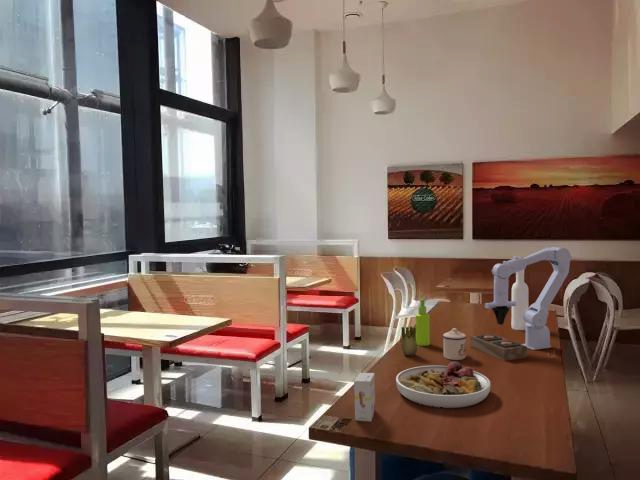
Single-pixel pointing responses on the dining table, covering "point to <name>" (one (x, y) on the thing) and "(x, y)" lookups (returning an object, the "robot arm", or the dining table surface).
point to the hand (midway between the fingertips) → (500, 324)
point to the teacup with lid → (454, 345)
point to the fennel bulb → (409, 341)
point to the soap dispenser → (422, 325)
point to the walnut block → (498, 347)
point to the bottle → (519, 301)
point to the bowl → (443, 385)
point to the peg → (506, 343)
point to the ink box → (364, 396)
